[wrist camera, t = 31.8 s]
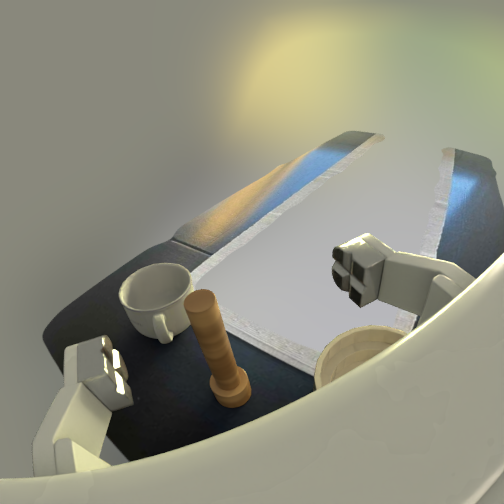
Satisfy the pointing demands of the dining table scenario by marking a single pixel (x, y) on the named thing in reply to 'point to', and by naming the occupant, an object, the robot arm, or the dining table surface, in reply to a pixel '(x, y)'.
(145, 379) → the dining table surface
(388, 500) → the robot arm
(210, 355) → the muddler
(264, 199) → the dining table surface
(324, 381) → the bowl
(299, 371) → the dining table surface
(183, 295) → the teacup
